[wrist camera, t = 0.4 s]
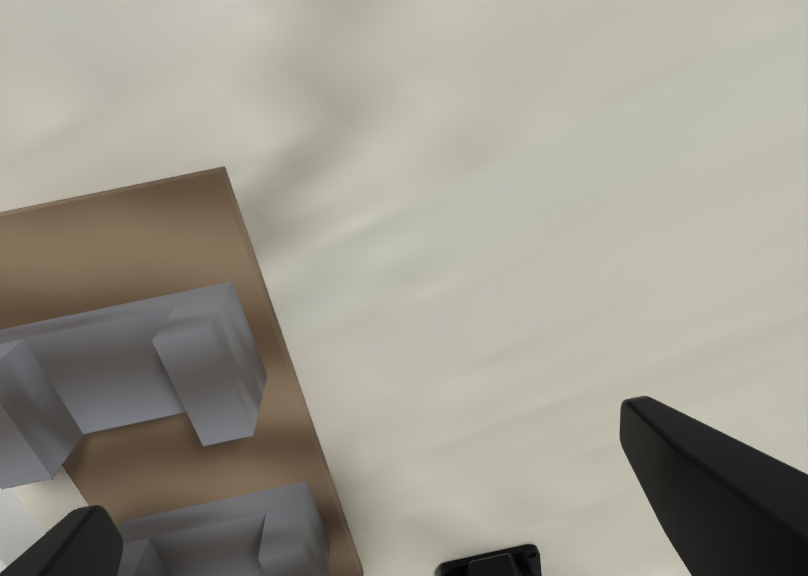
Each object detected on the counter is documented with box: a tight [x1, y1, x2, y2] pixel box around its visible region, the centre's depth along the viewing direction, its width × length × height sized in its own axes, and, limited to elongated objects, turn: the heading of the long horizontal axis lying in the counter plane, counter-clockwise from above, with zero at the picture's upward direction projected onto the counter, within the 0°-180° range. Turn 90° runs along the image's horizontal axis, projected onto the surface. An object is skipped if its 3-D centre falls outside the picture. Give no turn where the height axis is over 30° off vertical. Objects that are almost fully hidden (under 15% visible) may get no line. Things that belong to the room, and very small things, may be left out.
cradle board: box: [0, 167, 363, 576], centre depth 23 cm, size 26×12×5 cm, turn 10°
